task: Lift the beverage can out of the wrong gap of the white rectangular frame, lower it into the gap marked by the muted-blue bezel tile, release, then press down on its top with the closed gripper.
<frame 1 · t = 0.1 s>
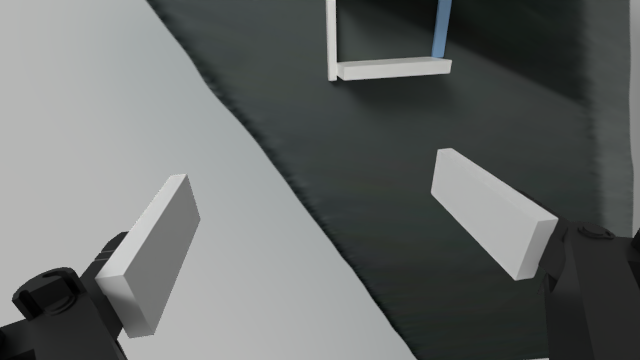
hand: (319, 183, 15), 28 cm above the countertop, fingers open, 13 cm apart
blue bezel: (440, 25, 38), on the countertop
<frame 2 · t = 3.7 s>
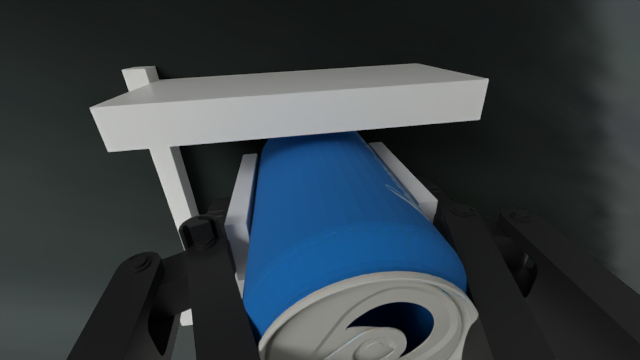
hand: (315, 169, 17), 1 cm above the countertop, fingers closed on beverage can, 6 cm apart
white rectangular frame: (319, 259, 21), on the countertop
beverage can: (313, 161, 18), resting in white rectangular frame, touching gripper
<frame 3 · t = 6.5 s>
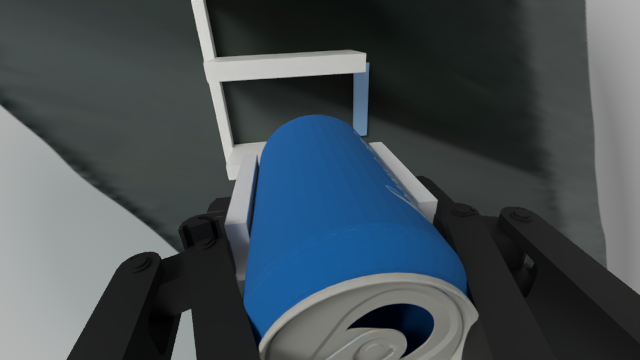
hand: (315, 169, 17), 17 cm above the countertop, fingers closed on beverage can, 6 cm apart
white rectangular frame: (289, 23, 28), on the countertop
blue bezel: (360, 100, 32), on the countertop
beverage can: (313, 162, 18), point 16 cm above the countertop, touching gripper
when the fingers open (3 cm above the countertop, at t = 9.3 s): beverage can drops 2 cm, resting in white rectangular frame.
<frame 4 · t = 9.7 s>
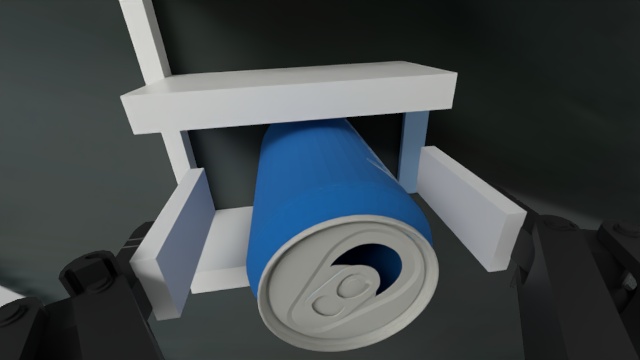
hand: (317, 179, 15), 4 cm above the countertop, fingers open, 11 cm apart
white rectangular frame: (300, 14, 15), on the countertop
blue bezel: (411, 141, 20), on the countertop
beverage can: (309, 149, 19), resting in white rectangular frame
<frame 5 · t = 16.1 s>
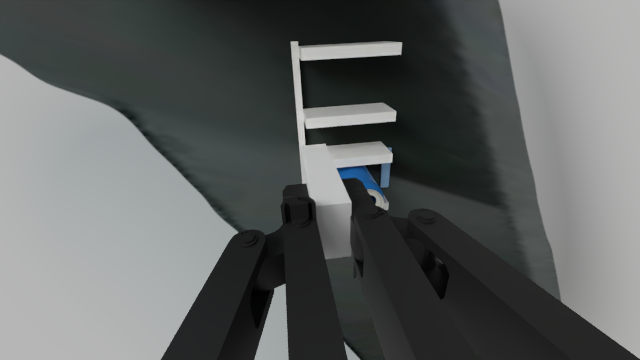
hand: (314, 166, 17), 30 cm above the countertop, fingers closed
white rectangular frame: (347, 129, 48), on the countertop
blue bezel: (385, 167, 53), on the countertop
beverage can: (347, 170, 52), resting in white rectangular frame
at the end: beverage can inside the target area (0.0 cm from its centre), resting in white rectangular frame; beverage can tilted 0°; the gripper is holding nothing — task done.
